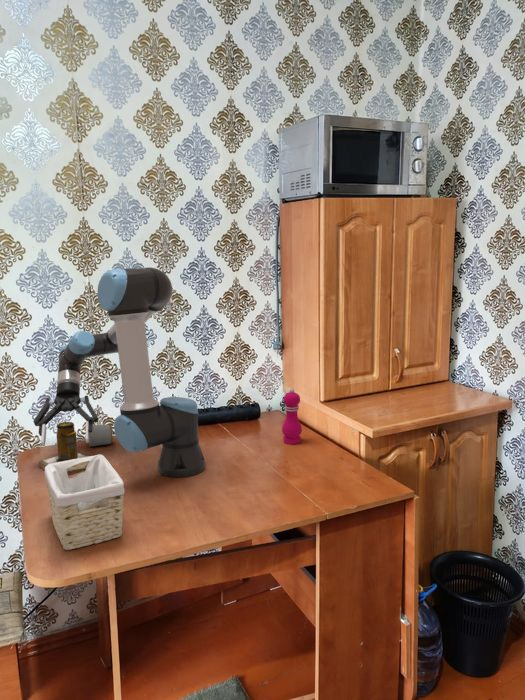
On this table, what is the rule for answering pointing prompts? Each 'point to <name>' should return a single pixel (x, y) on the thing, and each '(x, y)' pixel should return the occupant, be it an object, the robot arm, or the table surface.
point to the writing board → (52, 460)
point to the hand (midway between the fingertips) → (65, 442)
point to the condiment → (66, 442)
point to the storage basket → (85, 501)
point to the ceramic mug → (101, 435)
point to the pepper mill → (291, 418)
